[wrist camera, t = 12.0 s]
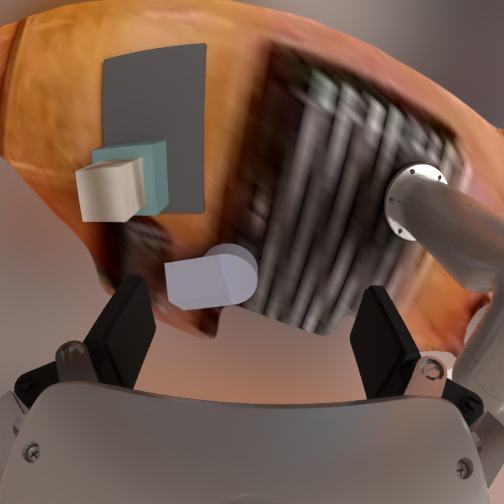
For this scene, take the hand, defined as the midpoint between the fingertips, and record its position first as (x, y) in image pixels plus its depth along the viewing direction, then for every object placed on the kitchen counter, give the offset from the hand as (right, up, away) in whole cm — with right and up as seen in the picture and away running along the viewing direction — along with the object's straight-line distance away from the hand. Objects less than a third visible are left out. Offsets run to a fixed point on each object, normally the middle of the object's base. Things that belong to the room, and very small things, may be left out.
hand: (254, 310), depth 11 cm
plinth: (-16, +14, +24) cm, 32 cm away
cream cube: (-16, +11, +20) cm, 28 cm away
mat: (-14, +19, +22) cm, 33 cm away
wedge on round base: (-6, 0, +33) cm, 33 cm away
